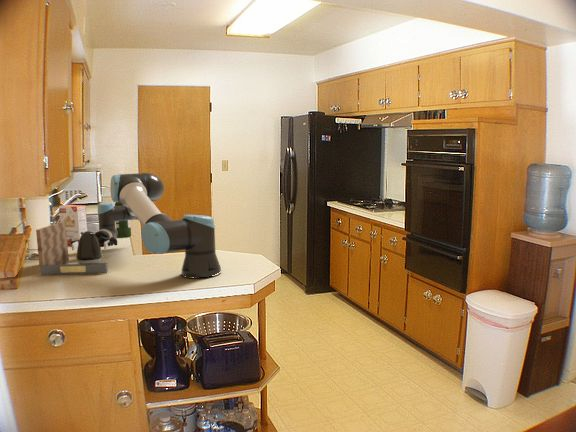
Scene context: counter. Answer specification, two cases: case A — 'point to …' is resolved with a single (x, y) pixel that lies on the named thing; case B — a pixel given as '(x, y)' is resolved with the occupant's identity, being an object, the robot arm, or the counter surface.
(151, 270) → the counter surface
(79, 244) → the black rounded dome
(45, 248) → the shelf side panel
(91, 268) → the price rail
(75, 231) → the cracker box
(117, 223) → the wine bottle
